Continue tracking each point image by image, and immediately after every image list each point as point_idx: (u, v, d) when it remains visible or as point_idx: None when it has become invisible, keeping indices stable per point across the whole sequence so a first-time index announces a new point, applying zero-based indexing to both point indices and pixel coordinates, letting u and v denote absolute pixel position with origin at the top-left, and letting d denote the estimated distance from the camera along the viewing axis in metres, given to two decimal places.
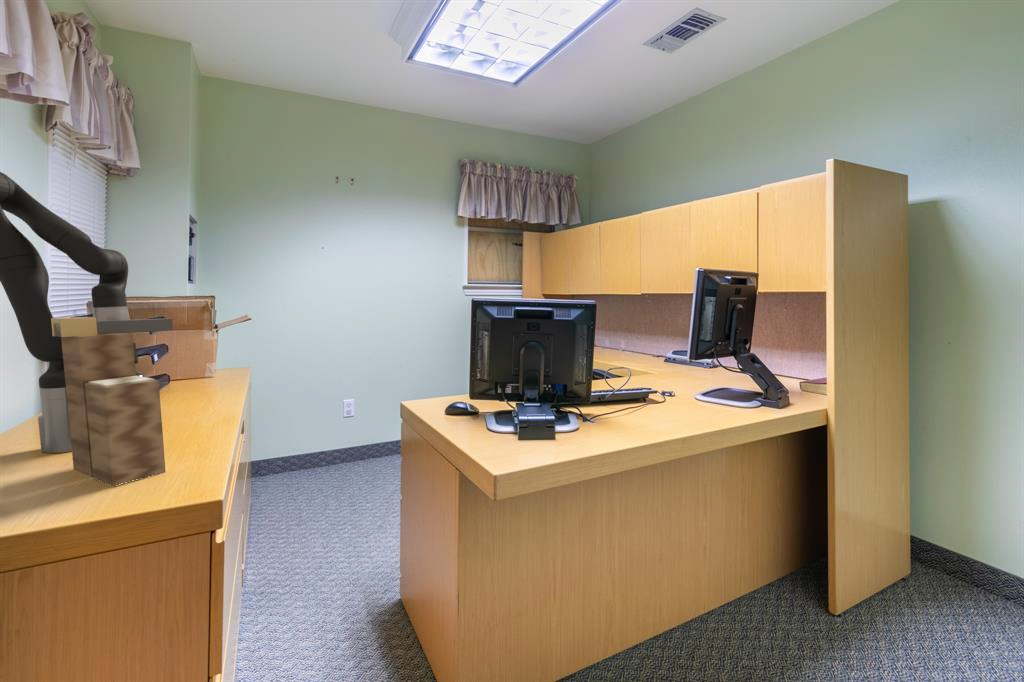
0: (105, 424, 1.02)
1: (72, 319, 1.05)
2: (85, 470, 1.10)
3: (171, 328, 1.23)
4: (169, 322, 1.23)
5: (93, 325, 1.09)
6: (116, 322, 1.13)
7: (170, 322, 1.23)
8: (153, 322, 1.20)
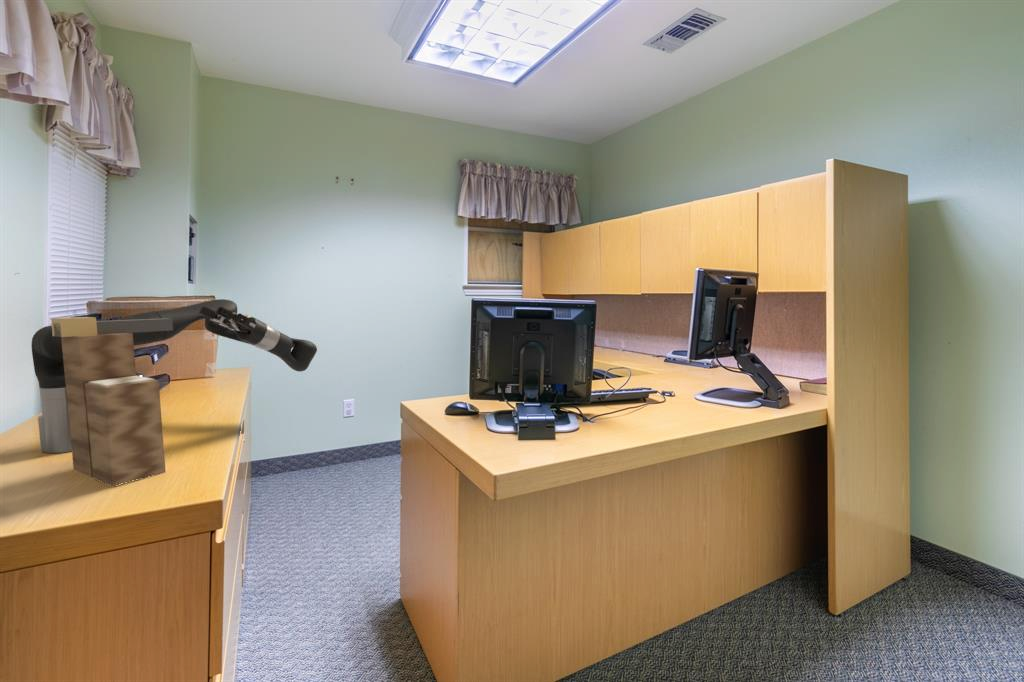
0: (105, 424, 1.02)
1: (72, 319, 1.05)
2: (85, 470, 1.10)
3: (171, 328, 1.23)
4: (169, 322, 1.23)
5: (93, 325, 1.09)
6: (116, 322, 1.13)
7: (170, 322, 1.23)
8: (153, 322, 1.20)
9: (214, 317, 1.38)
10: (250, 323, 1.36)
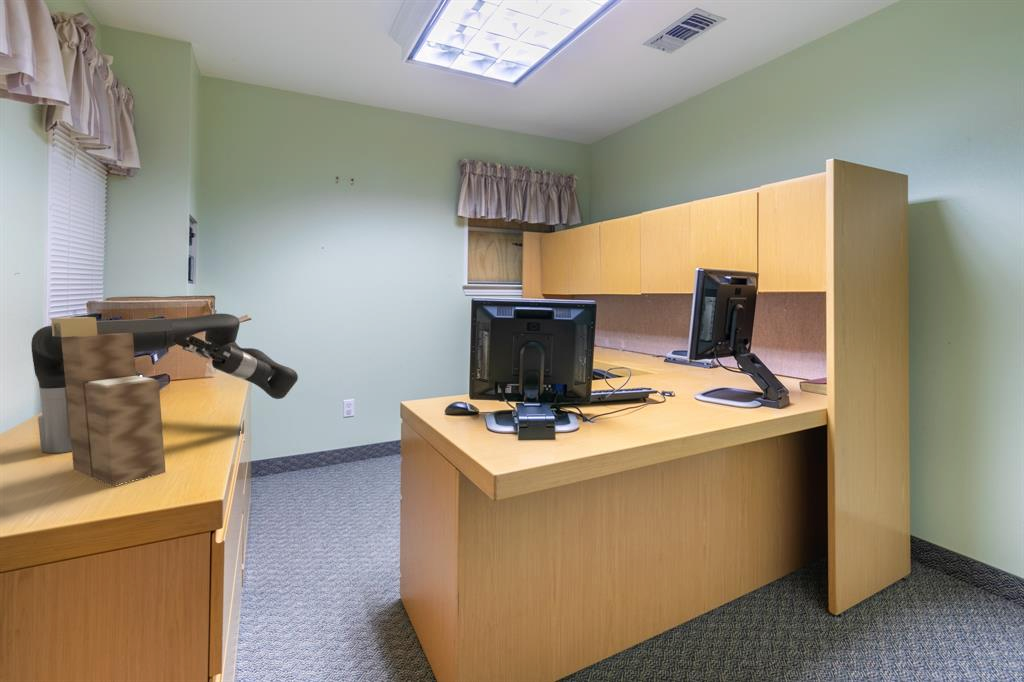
0: (105, 424, 1.02)
1: (72, 319, 1.05)
2: (85, 470, 1.10)
3: (171, 328, 1.23)
4: (169, 322, 1.23)
5: (93, 325, 1.09)
6: (116, 322, 1.13)
7: (170, 322, 1.23)
8: (153, 322, 1.20)
9: (187, 345, 1.32)
10: (224, 352, 1.31)
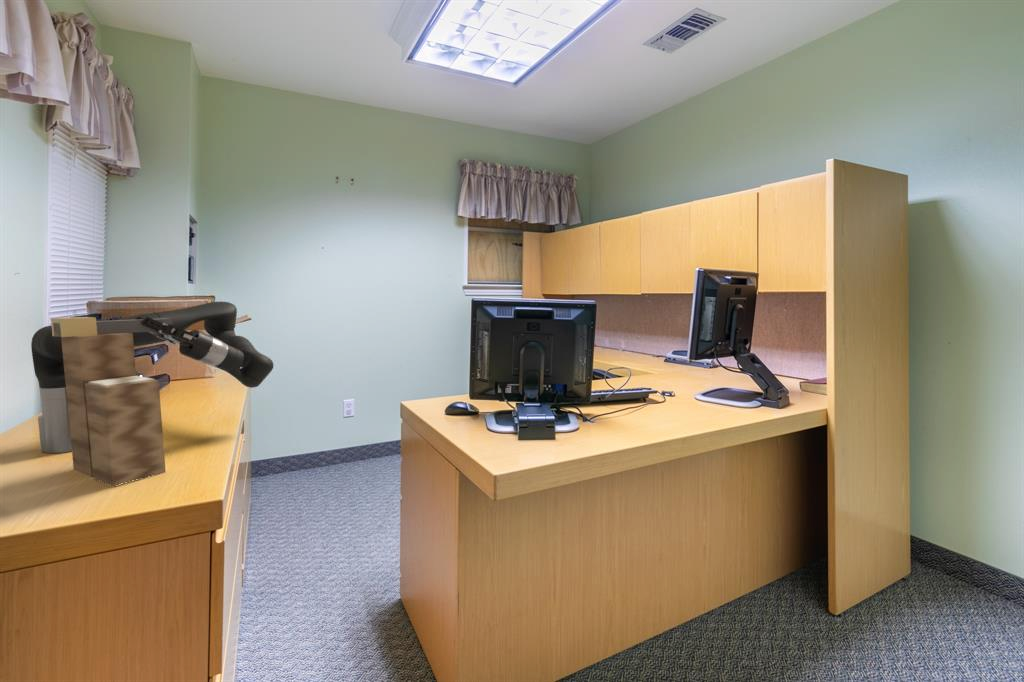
0: (105, 424, 1.02)
1: (72, 319, 1.05)
2: (85, 470, 1.10)
3: None
4: (169, 322, 1.23)
5: (93, 325, 1.09)
6: (116, 322, 1.13)
7: (170, 322, 1.23)
8: None
9: None
10: (184, 334, 1.22)
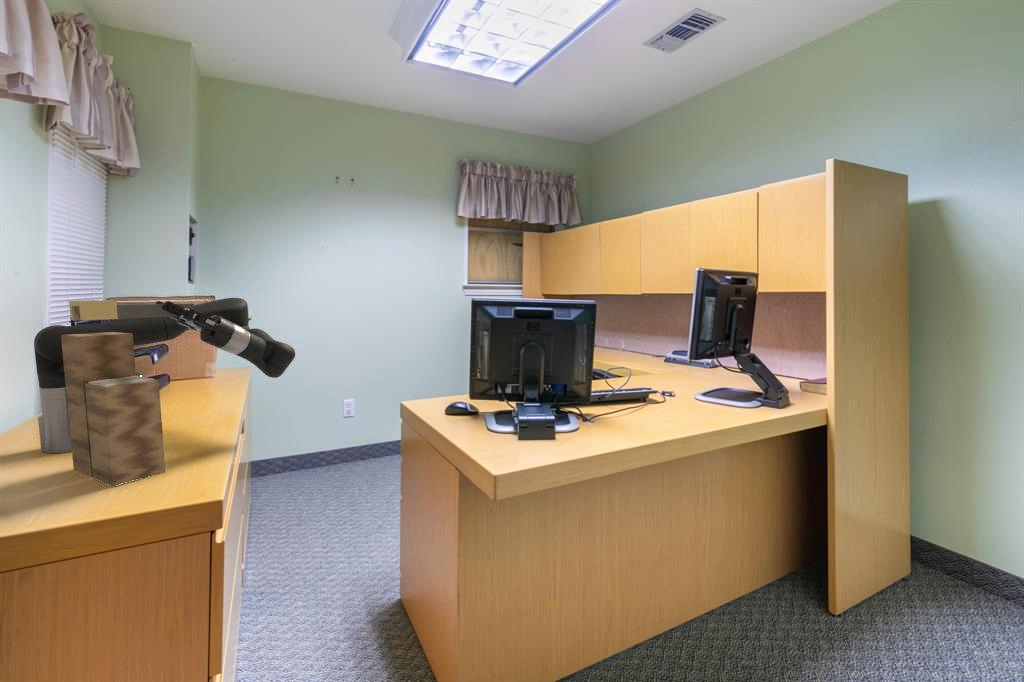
0: (105, 424, 1.02)
1: (92, 301, 1.00)
2: (85, 470, 1.10)
3: None
4: (190, 307, 1.17)
5: (113, 308, 1.03)
6: (137, 306, 1.07)
7: (191, 307, 1.17)
8: None
9: None
10: (206, 320, 1.17)
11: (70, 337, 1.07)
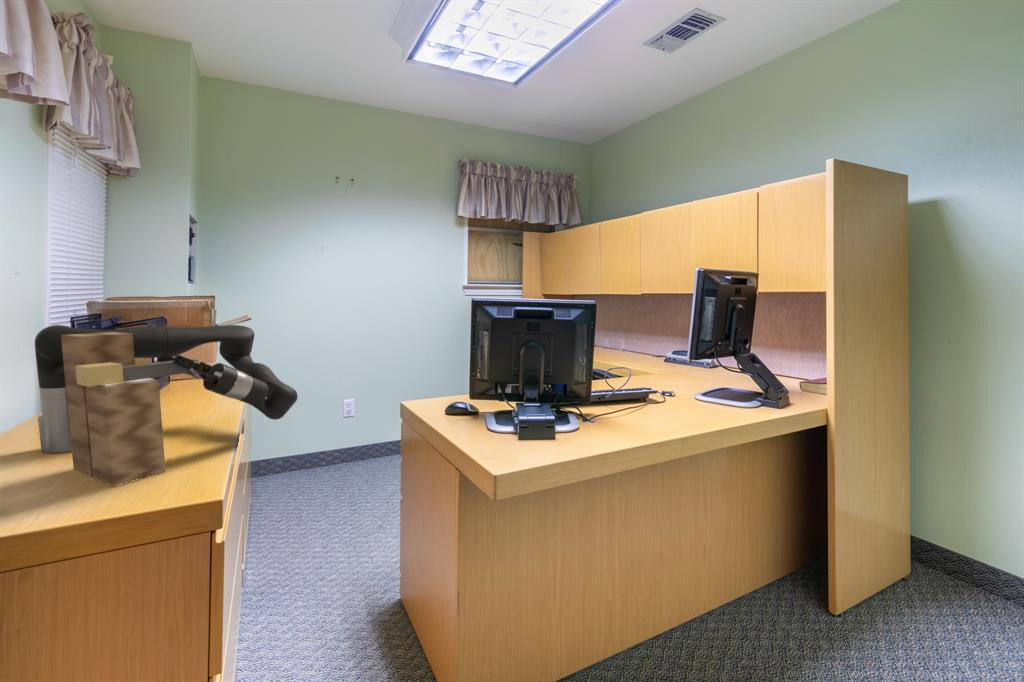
0: (105, 424, 1.02)
1: (98, 367, 1.01)
2: (85, 470, 1.10)
3: None
4: None
5: (119, 372, 1.04)
6: (142, 367, 1.09)
7: None
8: None
9: None
10: (215, 372, 1.18)
11: (70, 337, 1.07)
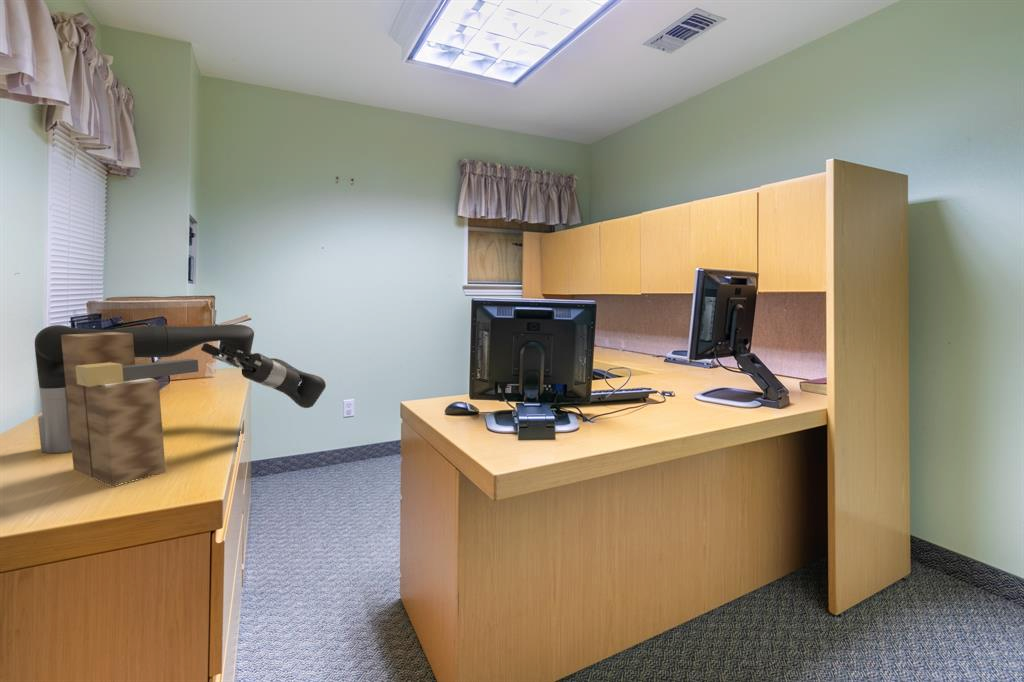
0: (105, 424, 1.02)
1: (98, 367, 1.01)
2: (85, 470, 1.10)
3: (197, 369, 1.19)
4: (195, 363, 1.18)
5: (119, 372, 1.04)
6: (142, 367, 1.09)
7: (196, 363, 1.19)
8: (178, 364, 1.15)
9: (217, 354, 1.29)
10: (255, 361, 1.27)
11: (70, 337, 1.07)
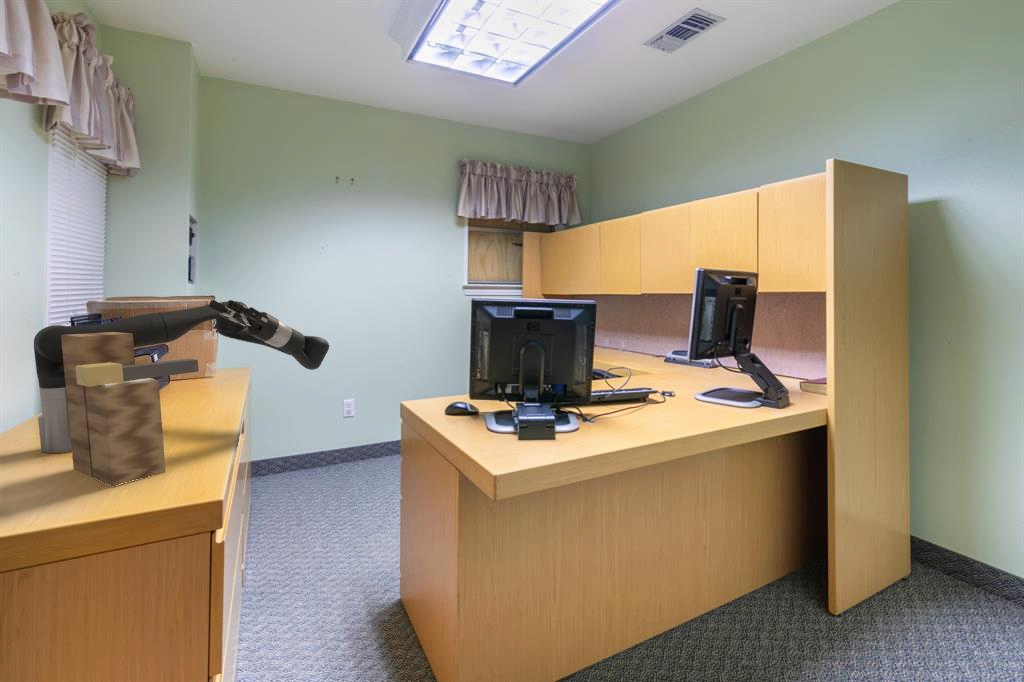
0: (105, 424, 1.02)
1: (98, 367, 1.01)
2: (85, 470, 1.10)
3: (197, 369, 1.19)
4: (195, 363, 1.18)
5: (119, 372, 1.04)
6: (142, 367, 1.09)
7: (196, 363, 1.19)
8: (178, 364, 1.15)
9: (224, 311, 1.32)
10: (262, 318, 1.30)
11: (70, 337, 1.07)
